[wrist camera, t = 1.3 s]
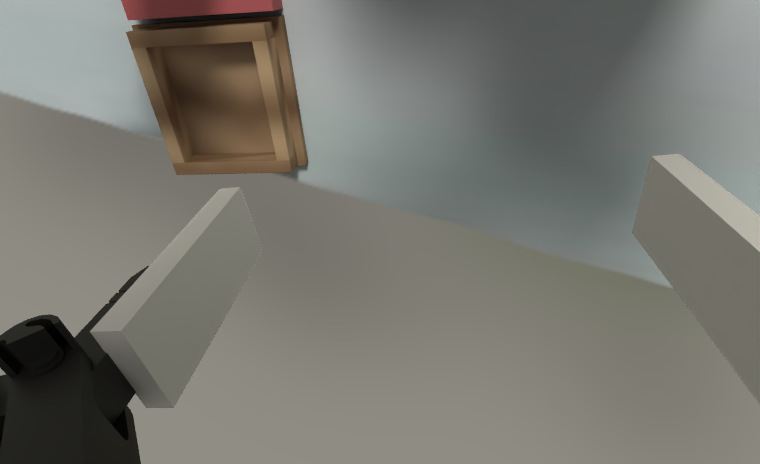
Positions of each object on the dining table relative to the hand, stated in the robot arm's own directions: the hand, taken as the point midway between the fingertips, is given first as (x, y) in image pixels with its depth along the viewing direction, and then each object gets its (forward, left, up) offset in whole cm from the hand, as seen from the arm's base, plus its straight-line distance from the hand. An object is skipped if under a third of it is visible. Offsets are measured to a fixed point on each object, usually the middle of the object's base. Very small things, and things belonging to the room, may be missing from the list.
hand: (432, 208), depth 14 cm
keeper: (+2, -18, -25) cm, 31 cm away
